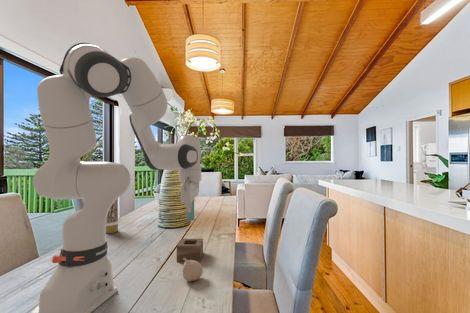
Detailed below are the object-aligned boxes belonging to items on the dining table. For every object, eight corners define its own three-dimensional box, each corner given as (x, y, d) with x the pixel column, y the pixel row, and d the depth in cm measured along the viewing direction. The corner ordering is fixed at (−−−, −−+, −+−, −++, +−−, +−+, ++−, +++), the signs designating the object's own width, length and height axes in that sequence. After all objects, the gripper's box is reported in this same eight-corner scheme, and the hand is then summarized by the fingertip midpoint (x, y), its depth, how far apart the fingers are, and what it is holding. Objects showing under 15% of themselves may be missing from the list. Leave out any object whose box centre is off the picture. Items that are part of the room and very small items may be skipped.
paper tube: (112, 234, 135) (112, 186, 135) (101, 233, 136) (100, 186, 136) (120, 230, 142) (120, 185, 142) (109, 229, 143) (109, 184, 143)
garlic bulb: (185, 275, 87) (185, 251, 87) (204, 275, 87) (203, 251, 87) (180, 285, 81) (180, 259, 81) (200, 285, 81) (200, 259, 81)
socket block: (200, 261, 99) (200, 246, 99) (176, 261, 99) (176, 246, 98) (203, 252, 108) (202, 238, 108) (181, 253, 108) (181, 238, 108)
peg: (193, 220, 102) (193, 195, 101) (185, 220, 102) (185, 195, 101) (194, 218, 105) (194, 194, 105) (187, 218, 105) (186, 194, 105)
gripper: (193, 179, 92) (194, 217, 93) (201, 174, 113) (201, 205, 113) (176, 179, 92) (176, 217, 93) (187, 174, 113) (187, 205, 113)
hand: (190, 210), depth 103 cm, fingers closed on peg, 3 cm apart
